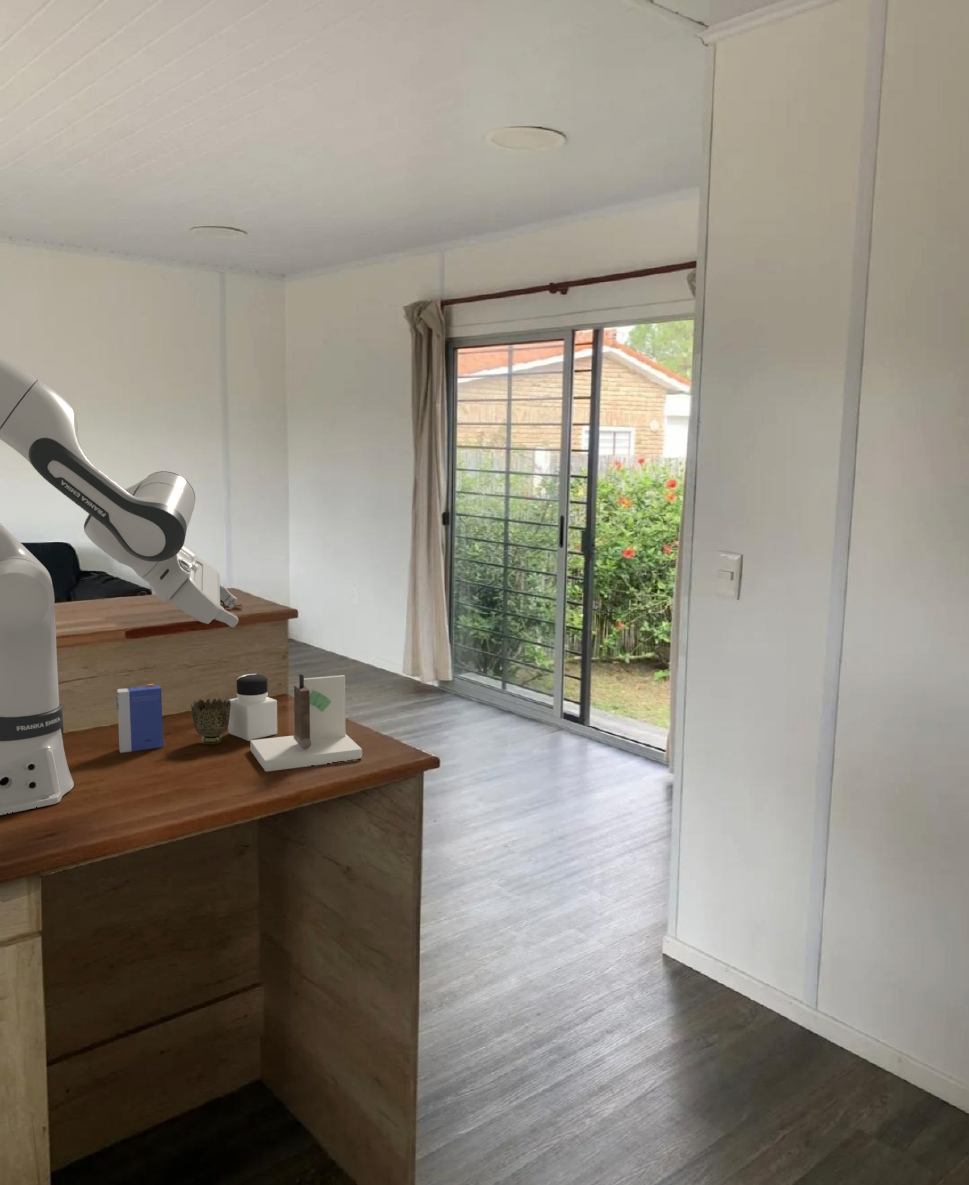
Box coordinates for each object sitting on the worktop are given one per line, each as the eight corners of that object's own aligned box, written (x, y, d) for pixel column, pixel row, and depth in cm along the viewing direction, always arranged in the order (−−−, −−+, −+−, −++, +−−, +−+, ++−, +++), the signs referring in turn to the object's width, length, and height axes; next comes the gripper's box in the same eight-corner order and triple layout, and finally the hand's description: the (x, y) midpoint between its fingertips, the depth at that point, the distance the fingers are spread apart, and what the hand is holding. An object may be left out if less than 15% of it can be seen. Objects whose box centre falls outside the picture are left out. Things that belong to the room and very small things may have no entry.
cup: (225, 749, 185) (224, 708, 184) (187, 748, 185) (185, 707, 184) (236, 737, 192) (235, 698, 191) (199, 736, 192) (198, 697, 191)
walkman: (160, 743, 188) (158, 683, 186) (163, 747, 185) (161, 686, 184) (117, 748, 184) (115, 687, 182) (120, 752, 182) (117, 690, 180)
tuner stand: (265, 771, 173) (264, 695, 170) (250, 750, 184) (249, 678, 182) (362, 759, 180) (361, 686, 178) (341, 739, 192) (341, 671, 190)
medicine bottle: (278, 734, 195) (277, 676, 193) (247, 741, 190) (246, 682, 188) (258, 726, 200) (257, 670, 198) (227, 733, 195) (226, 675, 193)
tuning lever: (300, 749, 177) (299, 678, 175) (293, 741, 182) (292, 671, 180) (311, 748, 178) (310, 677, 176) (304, 740, 183) (303, 670, 181)
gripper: (162, 561, 176) (223, 605, 182) (156, 601, 158) (225, 648, 164) (184, 536, 176) (245, 581, 182) (181, 572, 157) (249, 621, 163)
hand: (235, 613), depth 173 cm, fingers open, 8 cm apart
